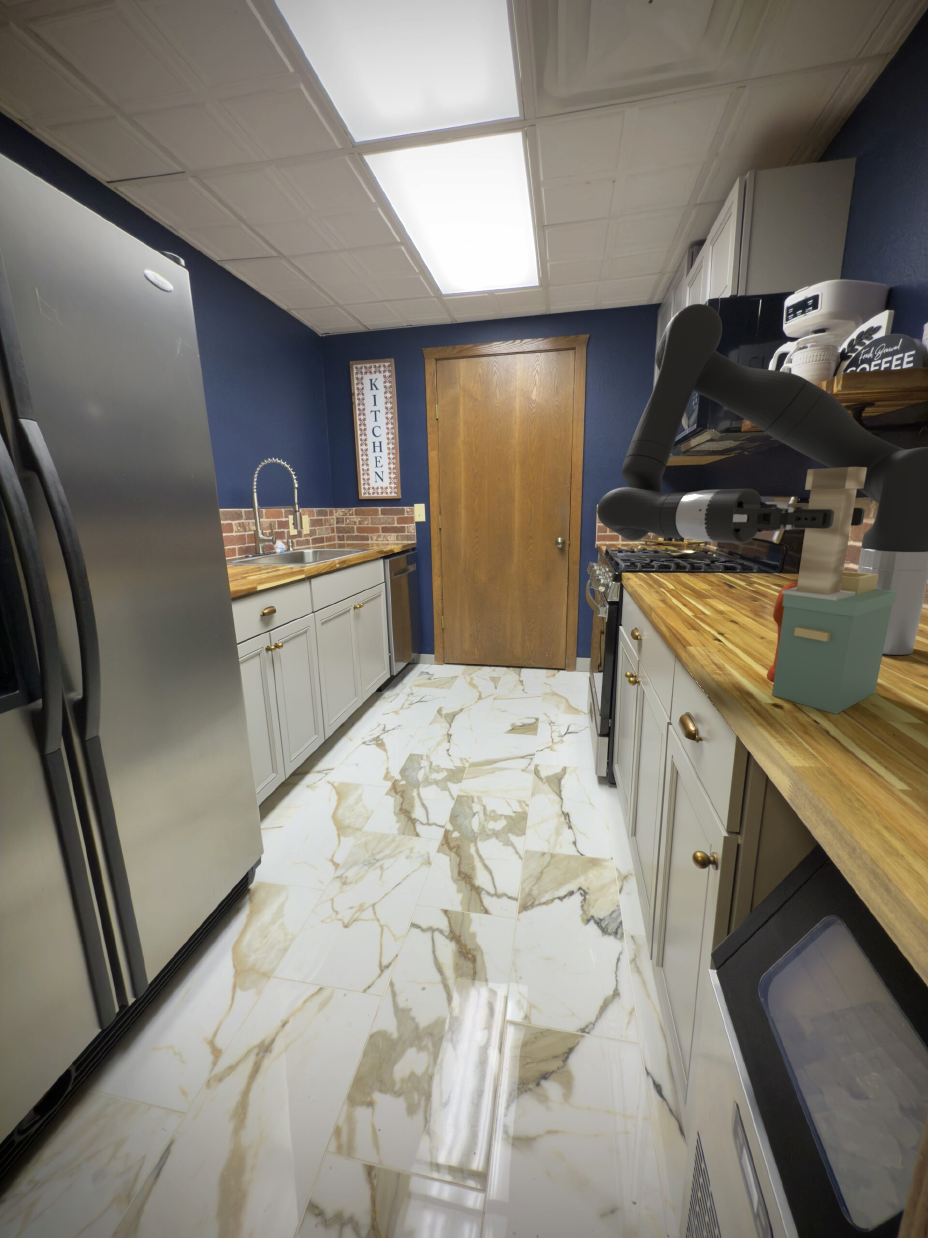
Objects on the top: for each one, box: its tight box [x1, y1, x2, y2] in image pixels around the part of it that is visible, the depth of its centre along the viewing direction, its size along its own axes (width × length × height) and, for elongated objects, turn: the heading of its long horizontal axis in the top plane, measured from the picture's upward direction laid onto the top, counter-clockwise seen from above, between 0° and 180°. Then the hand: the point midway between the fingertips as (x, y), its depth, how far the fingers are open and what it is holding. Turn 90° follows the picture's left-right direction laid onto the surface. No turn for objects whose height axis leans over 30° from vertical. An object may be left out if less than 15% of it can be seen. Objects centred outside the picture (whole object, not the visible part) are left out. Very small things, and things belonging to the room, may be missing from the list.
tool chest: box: [771, 570, 896, 715], centre depth 65 cm, size 14×8×16 cm, turn 123°
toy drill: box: [766, 580, 798, 684], centre depth 75 cm, size 5×19×15 cm, turn 142°
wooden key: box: [797, 467, 867, 595], centre depth 61 cm, size 4×5×15 cm
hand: (848, 517), depth 59 cm, fingers open, 8 cm apart
